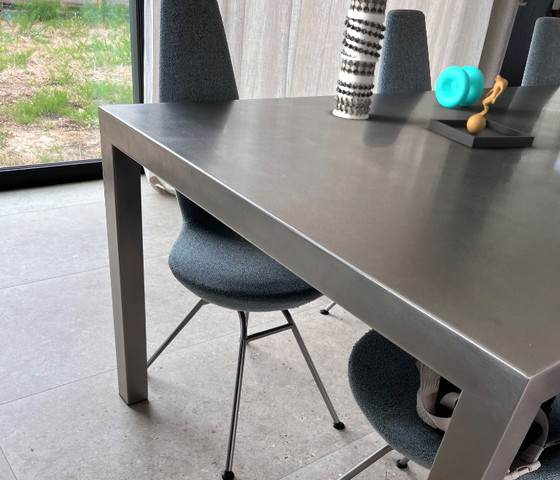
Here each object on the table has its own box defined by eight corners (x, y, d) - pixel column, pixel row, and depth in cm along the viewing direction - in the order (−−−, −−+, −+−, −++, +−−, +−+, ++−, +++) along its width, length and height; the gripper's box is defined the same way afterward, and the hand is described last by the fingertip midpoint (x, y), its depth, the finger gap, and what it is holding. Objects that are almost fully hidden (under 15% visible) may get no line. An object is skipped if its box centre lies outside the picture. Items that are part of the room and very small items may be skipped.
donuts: (429, 103, 156) (438, 62, 150) (449, 101, 162) (459, 62, 156) (459, 112, 150) (471, 70, 144) (479, 109, 156) (491, 69, 150)
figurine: (462, 128, 131) (478, 70, 124) (488, 131, 130) (506, 73, 123) (467, 136, 124) (484, 75, 117) (494, 140, 123) (513, 79, 116)
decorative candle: (325, 114, 130) (343, -17, 116) (339, 108, 137) (357, -16, 123) (362, 121, 128) (385, -11, 113) (374, 115, 135) (398, -10, 120)
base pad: (485, 128, 136) (488, 119, 134) (531, 146, 125) (534, 136, 124) (427, 128, 129) (430, 119, 128) (471, 147, 118) (474, 137, 117)
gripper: (551, -103, 102) (524, 4, 110) (610, -92, 106) (581, 10, 115) (523, -97, 108) (500, 4, 116) (580, -86, 112) (554, 10, 121)
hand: (540, 7), depth 116 cm, fingers open, 8 cm apart
